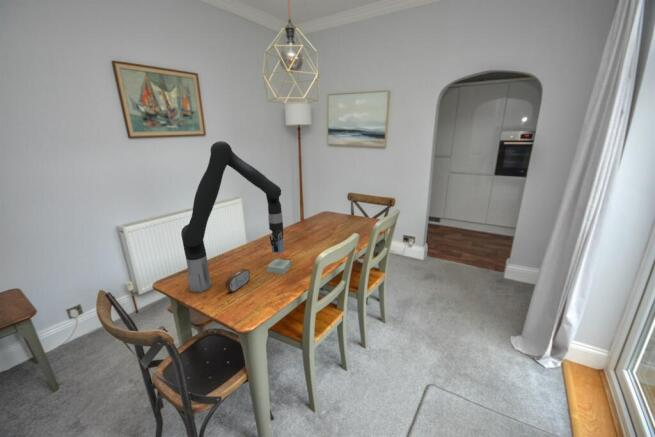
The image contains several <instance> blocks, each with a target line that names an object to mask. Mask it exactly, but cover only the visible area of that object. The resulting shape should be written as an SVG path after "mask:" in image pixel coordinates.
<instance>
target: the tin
mask: <svg viewBox="0 0 655 437" xmlns="http://www.w3.org/2000/svg"><path fill="white" fill-rule="evenodd" d="M250 274H251V273H250V271H249V269H246V268H241V269H238V270H237V271H236V272H233V273H232V274H230V275H229V276H228V277H227V279H226V281H225V284H224V285H225V289H226V290H227V291H228V292H236V291H238V290H239V289H241V287H243V286H245V285H247V283H248V282H249V280H250Z"/></svg>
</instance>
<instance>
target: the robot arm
mask: <svg viewBox="0 0 655 437" xmlns="http://www.w3.org/2000/svg"><path fill="white" fill-rule="evenodd" d="M227 166H228V167H230V168H231V169H233V170H234V171H236V172H237V173H238V174H239V175H241V176H242V177H243V178H244V179H246V180H247V182H249V183H251V185H253V186H254V187H256V188H258V189H259V190H261V191H262V192H263V193H264V194H265V197H266V201H267V210H268V216H267V217H268V227H269V231H271V232H272V233H271V236H270V235H269V241H270V246H271V247H272V246H274V252H278V241H279V238H283V239H284V219H283V213H282V211H283V210H282V204H281V201H280V197H281V195H282V189H281V187H280V186H279V185H277V183H276V184H275V183H274V182H273V181H272V180H270V179H269V178H267V176H266V175H265V174H263V173H262V172H260V171H259V169H256V168H255V167H254V166H252V165H251V164H249V163H247V162H246V161H244V160H243V159H241V158H240V157H239V156H238V155H237V154H235V152H234V151H233V149H232V147H231V145H230V144H229V143H228V142H226V141H222V140H220V141H216V142H214V143H213V144H212V145H211V147H210V156H209V160H208V164H207V168H206V170H205V171H204V173H203V175H202V178H201V179H200V181H199V183H198V185H197V189H196V192H195V195H194V199H193V203H192V204H193V206H192V212H191V217H190V220H189V223H188V224H186V225H185V226H183V228H182V229H181V232H180V235H181V240H182V246H183V250H184V255H185V260H186V267H187V270H188V272H187V274H186V275H187V281H188V285H189V291H190V292H194V293H202V292H203V291H206V290H208V289H210V288H211V287H212V283H211V277H210V276H211V275H210V269H209V265H208V264H209V263H208V256H207V252H206V247H205V243H204V238H205V234H206V229H207V224H208V221H209V218H210V216H211V213H212V211H213V208H214V206H215V203H216V202H217V198H218V194H219V193H220V188H221V184H222V180H223V176H224V172H225V171H226V168H227ZM275 239H277V240H275Z"/></svg>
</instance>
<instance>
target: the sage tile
mask: <svg viewBox="0 0 655 437" xmlns="http://www.w3.org/2000/svg"><path fill="white" fill-rule="evenodd" d="M291 267H292V260H286V259H278V258H275V259H273V260H272V261H271V262H270V263H269V264H268V265H267V266H266V269H267V273H268V274H269V273H270V274H278V275H285V274H286V273H287V272H288V271H289V269H290V268H291Z"/></svg>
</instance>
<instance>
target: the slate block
mask: <svg viewBox="0 0 655 437" xmlns="http://www.w3.org/2000/svg"><path fill="white" fill-rule="evenodd" d="M275 240H277V239H275ZM284 243H285V242H284V237H283V238H279V241H278V252H274V246H271V254H272V253H273V254H282V253H283V252H284V250H285V244H284Z"/></svg>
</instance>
